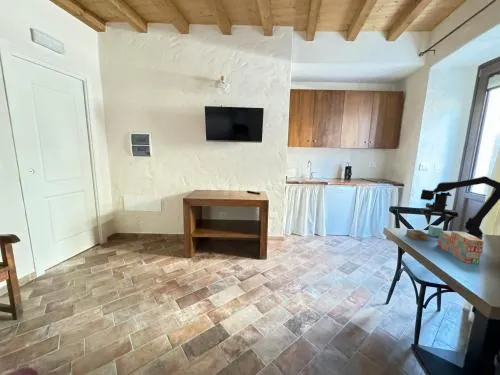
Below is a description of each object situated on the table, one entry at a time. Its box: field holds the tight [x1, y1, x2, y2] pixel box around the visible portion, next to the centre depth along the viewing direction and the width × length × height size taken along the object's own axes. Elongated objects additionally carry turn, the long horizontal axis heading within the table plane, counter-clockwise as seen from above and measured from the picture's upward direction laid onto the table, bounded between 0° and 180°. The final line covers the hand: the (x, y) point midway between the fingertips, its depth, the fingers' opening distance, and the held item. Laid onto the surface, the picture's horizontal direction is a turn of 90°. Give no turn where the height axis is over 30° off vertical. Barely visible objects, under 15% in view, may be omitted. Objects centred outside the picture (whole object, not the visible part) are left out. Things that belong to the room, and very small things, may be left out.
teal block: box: [427, 224, 443, 237], centre depth 143 cm, size 5×5×6 cm
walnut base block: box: [405, 228, 429, 241], centre depth 138 cm, size 8×8×4 cm
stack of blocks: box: [437, 230, 485, 265], centre depth 115 cm, size 21×6×12 cm, turn 168°
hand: (436, 225), depth 142 cm, fingers open, 9 cm apart
